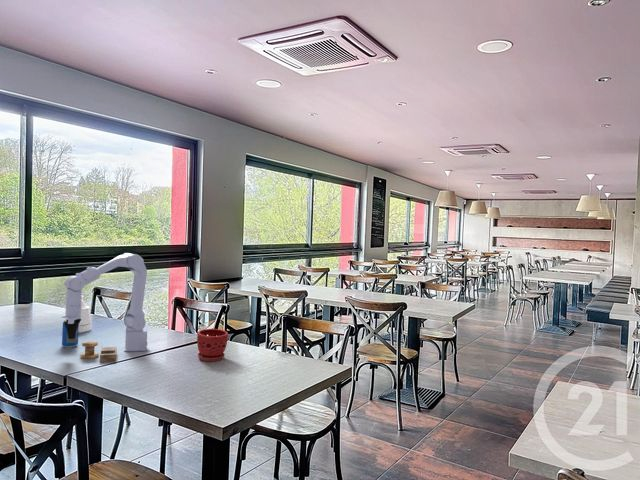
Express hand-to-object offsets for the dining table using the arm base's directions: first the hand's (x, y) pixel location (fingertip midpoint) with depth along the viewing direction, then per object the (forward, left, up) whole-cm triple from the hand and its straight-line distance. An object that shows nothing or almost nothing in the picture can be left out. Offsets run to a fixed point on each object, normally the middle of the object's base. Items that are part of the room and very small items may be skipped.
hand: (72, 337), depth 198 cm
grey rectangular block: (0, 0, -2) cm, 2 cm away
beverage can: (+3, -21, -9) cm, 23 cm away
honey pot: (+3, -54, -9) cm, 54 cm away
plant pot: (-56, +11, -9) cm, 58 cm away
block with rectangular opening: (-14, +1, -9) cm, 17 cm away
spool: (-7, -2, -9) cm, 11 cm away
